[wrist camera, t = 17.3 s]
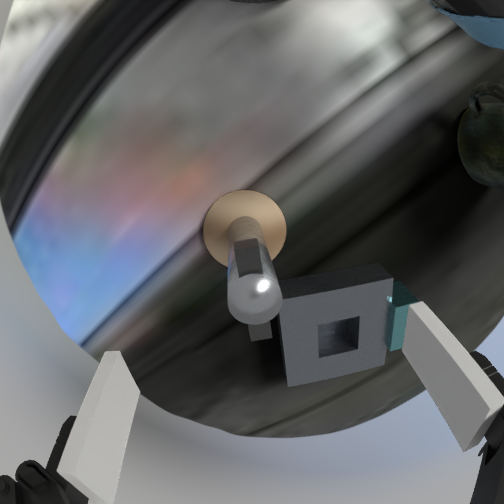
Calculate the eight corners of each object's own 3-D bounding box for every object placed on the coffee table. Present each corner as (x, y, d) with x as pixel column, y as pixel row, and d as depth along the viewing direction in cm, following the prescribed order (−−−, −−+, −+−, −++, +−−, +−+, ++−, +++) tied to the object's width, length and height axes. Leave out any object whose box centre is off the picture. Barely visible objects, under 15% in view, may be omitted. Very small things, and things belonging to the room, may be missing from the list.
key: (234, 265, 31) (237, 348, 19) (222, 202, 29) (217, 256, 17) (265, 260, 31) (287, 340, 19) (256, 197, 29) (276, 246, 17)
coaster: (196, 197, 29) (195, 198, 29) (280, 183, 29) (281, 185, 29) (212, 273, 32) (211, 275, 32) (289, 260, 32) (290, 263, 32)
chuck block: (272, 281, 33) (279, 305, 28) (400, 257, 33) (422, 276, 29) (283, 364, 38) (289, 392, 33) (392, 339, 38) (408, 363, 33)
